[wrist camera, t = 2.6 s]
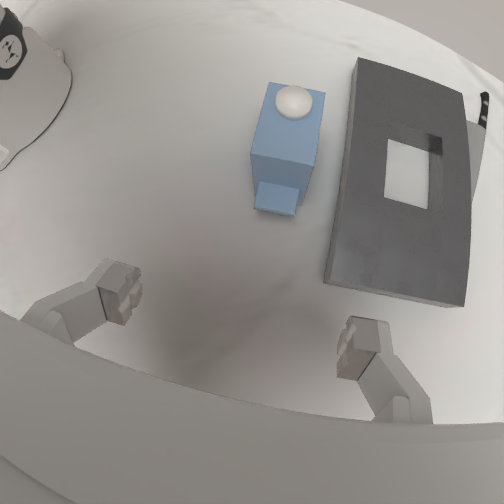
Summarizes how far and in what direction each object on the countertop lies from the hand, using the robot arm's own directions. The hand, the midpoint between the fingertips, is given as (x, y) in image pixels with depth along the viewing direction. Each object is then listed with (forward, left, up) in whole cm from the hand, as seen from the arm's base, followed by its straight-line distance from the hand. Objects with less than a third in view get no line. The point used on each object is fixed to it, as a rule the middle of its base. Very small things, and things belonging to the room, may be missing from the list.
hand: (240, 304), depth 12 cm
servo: (0, +12, -14) cm, 18 cm away
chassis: (+11, +14, -14) cm, 23 cm away
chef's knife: (+20, +21, -15) cm, 33 cm away
